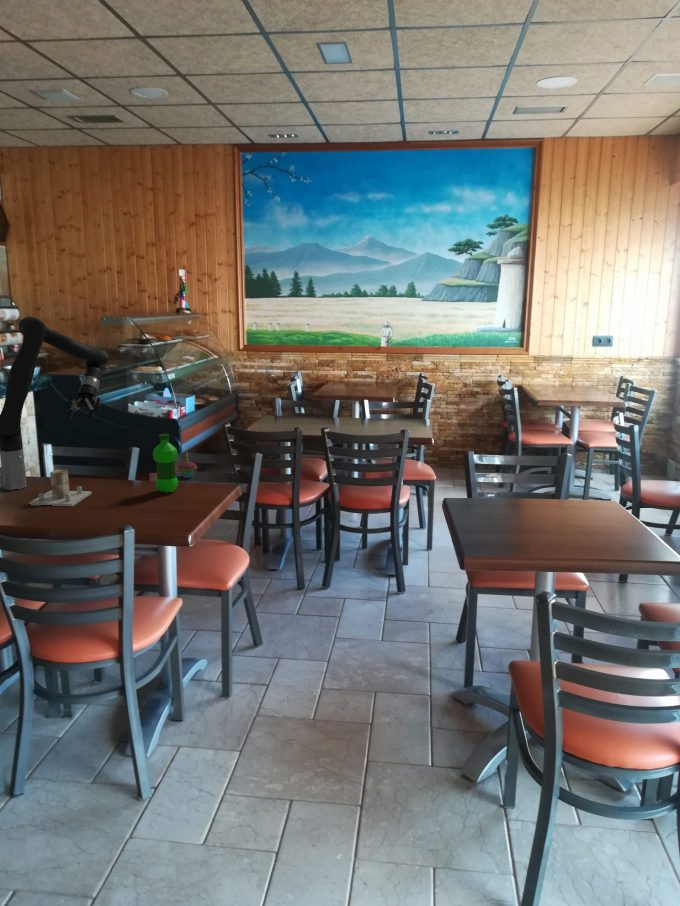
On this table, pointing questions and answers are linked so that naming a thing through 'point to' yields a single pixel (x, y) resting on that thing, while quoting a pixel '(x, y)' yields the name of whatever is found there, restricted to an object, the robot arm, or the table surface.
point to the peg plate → (68, 501)
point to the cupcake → (187, 468)
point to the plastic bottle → (165, 465)
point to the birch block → (59, 483)
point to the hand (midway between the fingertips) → (79, 418)
